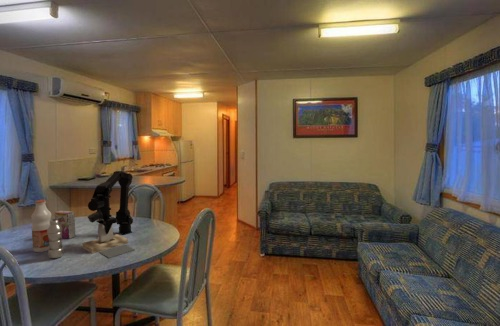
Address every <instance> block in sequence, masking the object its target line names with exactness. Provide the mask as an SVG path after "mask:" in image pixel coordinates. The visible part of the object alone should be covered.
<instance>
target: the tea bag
mask: <svg viewBox="0 0 500 326" xmlns="http://www.w3.org/2000/svg"><path fill="white" fill-rule="evenodd" d="M97 225H98V226H97V235H98V239H99V241H101V242H104V241H107V240H110V239H113V238H114V237H113V235H114V229H113V225H112V226H111V228H110V230H109V233H108V234H106V232H105V227H104V225H103V224H99V223H98V224H97Z"/></svg>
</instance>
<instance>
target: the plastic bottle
mask: <svg viewBox="0 0 500 326" xmlns="http://www.w3.org/2000/svg"><path fill="white" fill-rule="evenodd" d="M58 223H59V222H58V219H55V218H53V219H52V218H51V220H50V226H49V228H48V230H47V234H48V238H49V250H48V251H47V252H48V255H47V256H48V258H49V259H58V258H60V257H62V256H63V255H64V251H65V250H64V247H63V243H62V239H63V238H62V227H61V226H60V225H59V224H58Z"/></svg>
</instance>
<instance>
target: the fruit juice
mask: <svg viewBox="0 0 500 326" xmlns="http://www.w3.org/2000/svg"><path fill="white" fill-rule="evenodd" d="M46 203H47V200H46V199H38V200H34V204H35V209H34V211H33V212H32V214H31V215H30V216H31V217H30V219H31V222H32V224H31V237H32V238H31V239H32V250H33V252H34V253H42V252H48V251H49V238H48V234H47V230H48V228H49V226H50V220H52V212H51V211H50V210H49V209H48V207H47V205H46Z"/></svg>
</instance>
